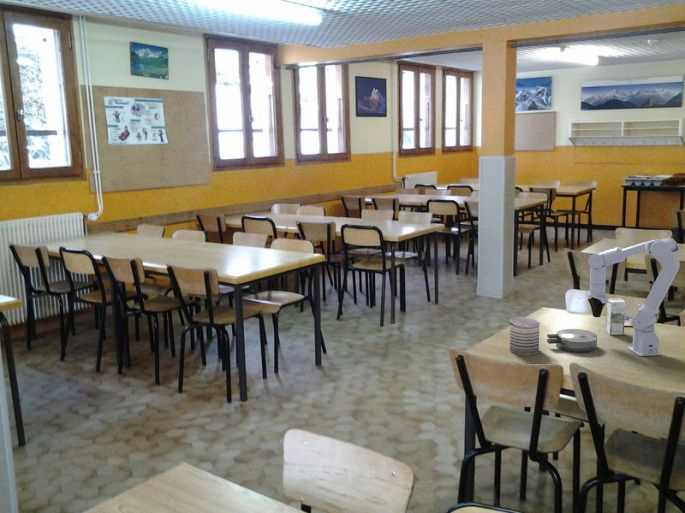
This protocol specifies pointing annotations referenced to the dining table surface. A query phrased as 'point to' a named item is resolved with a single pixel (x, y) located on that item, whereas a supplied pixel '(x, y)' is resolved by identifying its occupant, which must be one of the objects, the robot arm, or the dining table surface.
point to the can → (524, 335)
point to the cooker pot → (574, 346)
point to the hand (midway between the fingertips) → (596, 316)
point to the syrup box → (615, 317)
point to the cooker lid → (574, 335)
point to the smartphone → (627, 322)
